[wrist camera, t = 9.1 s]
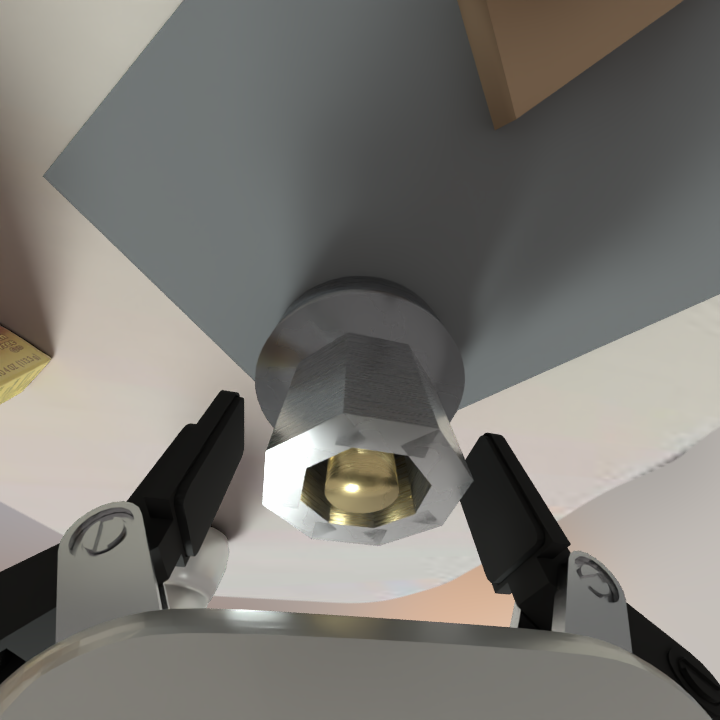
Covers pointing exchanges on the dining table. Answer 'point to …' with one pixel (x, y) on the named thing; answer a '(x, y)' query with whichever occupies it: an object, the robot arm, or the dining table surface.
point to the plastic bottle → (199, 574)
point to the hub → (370, 318)
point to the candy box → (17, 364)
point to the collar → (363, 442)
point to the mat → (408, 177)
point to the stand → (545, 44)
